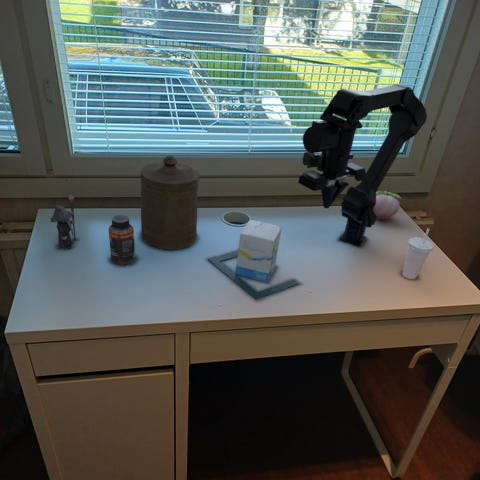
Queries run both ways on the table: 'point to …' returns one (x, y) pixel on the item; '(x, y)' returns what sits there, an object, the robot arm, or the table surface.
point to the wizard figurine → (64, 224)
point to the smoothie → (416, 255)
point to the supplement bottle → (121, 240)
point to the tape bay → (244, 285)
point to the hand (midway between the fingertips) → (325, 207)
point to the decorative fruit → (386, 204)
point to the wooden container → (169, 204)
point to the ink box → (258, 250)
